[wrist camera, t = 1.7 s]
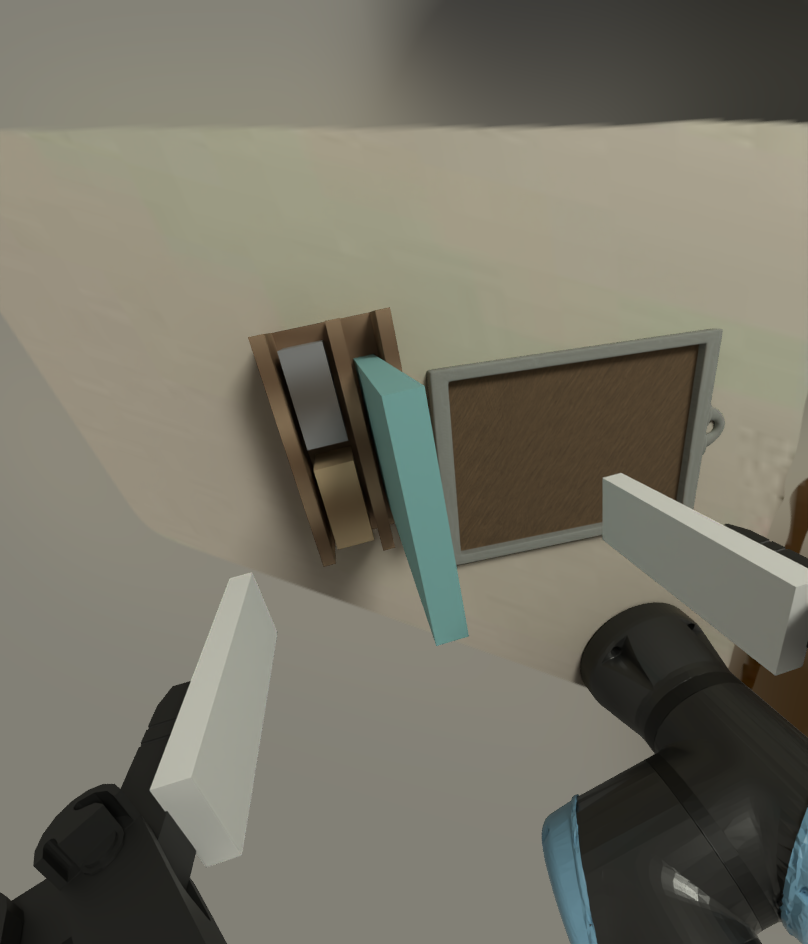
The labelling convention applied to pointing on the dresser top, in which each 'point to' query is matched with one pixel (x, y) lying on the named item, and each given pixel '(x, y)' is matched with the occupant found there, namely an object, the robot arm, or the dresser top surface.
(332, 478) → the offcut oak
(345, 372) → the rack
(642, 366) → the framed cork board
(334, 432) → the offcut charcoal
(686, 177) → the dresser top surface
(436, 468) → the teal rectangular slab
